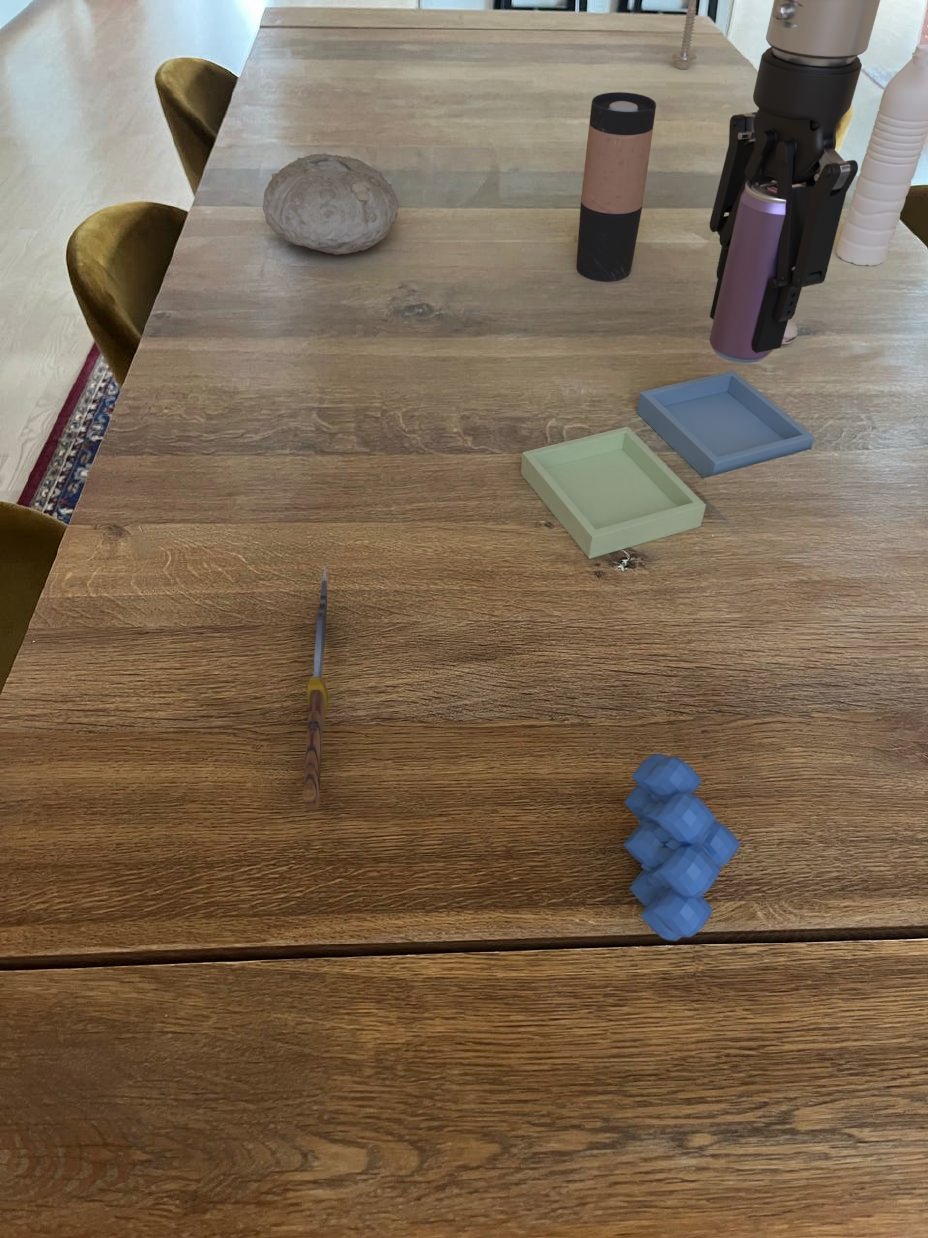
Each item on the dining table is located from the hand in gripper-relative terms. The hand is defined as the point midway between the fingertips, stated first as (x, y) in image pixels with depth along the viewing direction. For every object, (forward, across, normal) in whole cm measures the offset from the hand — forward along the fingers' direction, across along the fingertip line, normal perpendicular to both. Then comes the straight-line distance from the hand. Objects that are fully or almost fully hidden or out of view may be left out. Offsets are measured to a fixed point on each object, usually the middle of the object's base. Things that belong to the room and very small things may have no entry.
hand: (744, 331), depth 88 cm
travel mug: (+12, -38, +8) cm, 40 cm away
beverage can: (+2, 0, 0) cm, 2 cm away
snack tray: (+11, +5, -16) cm, 20 cm away
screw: (+12, -113, +69) cm, 133 cm away
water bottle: (+12, -28, +42) cm, 51 cm away
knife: (+12, +18, -48) cm, 53 cm away
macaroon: (+12, -14, +18) cm, 26 cm away
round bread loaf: (+12, -59, -22) cm, 64 cm away
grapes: (+12, +42, -33) cm, 55 cm away
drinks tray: (+11, 0, 0) cm, 11 cm away
